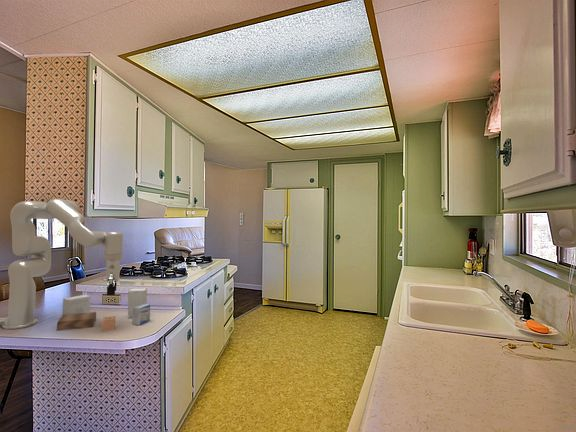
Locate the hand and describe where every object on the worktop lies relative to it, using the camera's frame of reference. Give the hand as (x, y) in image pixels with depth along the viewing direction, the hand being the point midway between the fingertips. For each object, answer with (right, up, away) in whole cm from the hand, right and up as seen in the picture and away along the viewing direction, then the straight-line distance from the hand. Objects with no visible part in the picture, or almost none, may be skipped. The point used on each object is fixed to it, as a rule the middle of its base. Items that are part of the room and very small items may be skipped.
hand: (111, 292), depth 141 cm
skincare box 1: (-28, -17, +15) cm, 36 cm away
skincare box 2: (+2, -18, +19) cm, 26 cm away
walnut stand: (-19, -16, +3) cm, 25 cm away
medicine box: (+10, -18, +9) cm, 22 cm away
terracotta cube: (-1, -17, -1) cm, 17 cm away
